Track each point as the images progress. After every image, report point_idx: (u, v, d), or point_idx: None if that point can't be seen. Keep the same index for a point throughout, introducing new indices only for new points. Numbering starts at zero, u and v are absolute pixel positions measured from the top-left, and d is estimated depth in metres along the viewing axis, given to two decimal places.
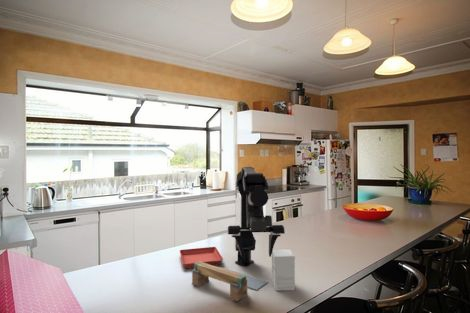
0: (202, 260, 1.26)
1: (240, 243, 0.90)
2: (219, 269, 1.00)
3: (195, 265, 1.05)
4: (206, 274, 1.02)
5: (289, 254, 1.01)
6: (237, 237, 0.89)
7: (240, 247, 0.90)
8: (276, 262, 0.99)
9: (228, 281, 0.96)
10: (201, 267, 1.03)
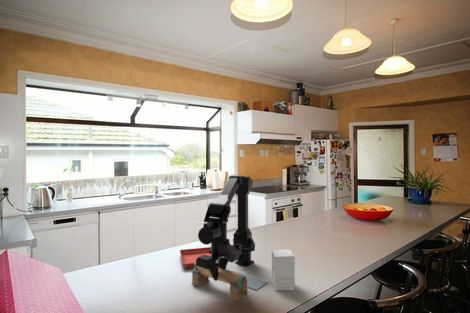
0: None
1: (217, 270, 0.98)
2: (219, 269, 1.00)
3: (195, 265, 1.05)
4: (206, 274, 1.02)
5: (289, 254, 1.01)
6: (218, 266, 0.96)
7: (216, 273, 0.98)
8: (276, 262, 0.99)
9: (228, 281, 0.96)
10: (201, 267, 1.03)
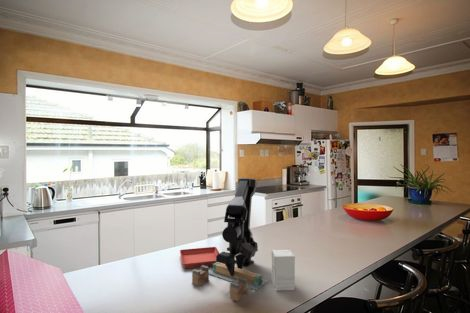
0: (202, 260, 1.26)
1: (234, 266, 1.06)
2: (236, 269, 1.09)
3: (214, 265, 1.14)
4: (224, 273, 1.11)
5: (289, 254, 1.01)
6: None
7: (233, 269, 1.06)
8: (276, 262, 0.99)
9: None
10: (219, 267, 1.12)
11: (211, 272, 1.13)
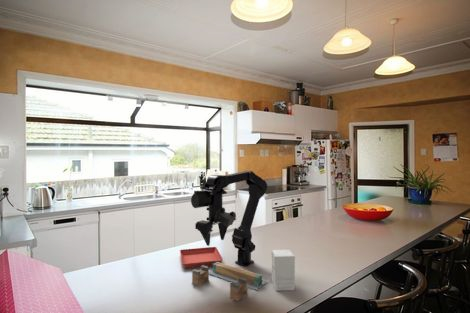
0: (202, 260, 1.26)
1: (209, 235, 1.09)
2: (236, 269, 1.09)
3: (214, 265, 1.14)
4: (224, 273, 1.11)
5: (289, 254, 1.01)
6: (210, 231, 1.08)
7: (209, 238, 1.09)
8: (276, 262, 0.99)
9: None
10: (219, 267, 1.12)
11: (211, 272, 1.13)
